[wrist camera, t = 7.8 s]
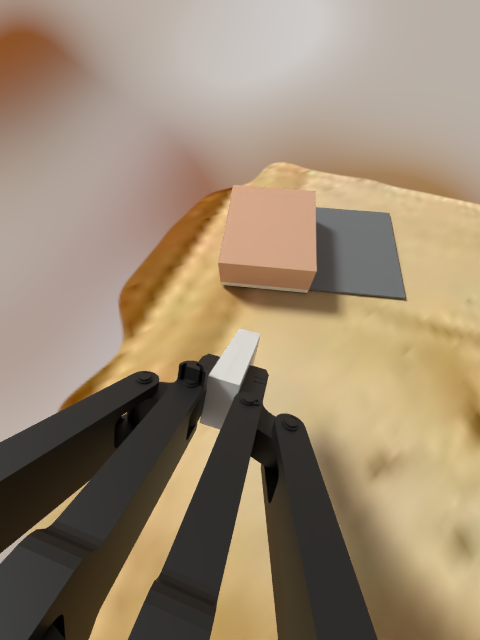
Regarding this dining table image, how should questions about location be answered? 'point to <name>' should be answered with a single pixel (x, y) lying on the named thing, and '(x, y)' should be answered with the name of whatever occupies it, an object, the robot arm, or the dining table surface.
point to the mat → (356, 254)
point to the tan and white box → (269, 239)
